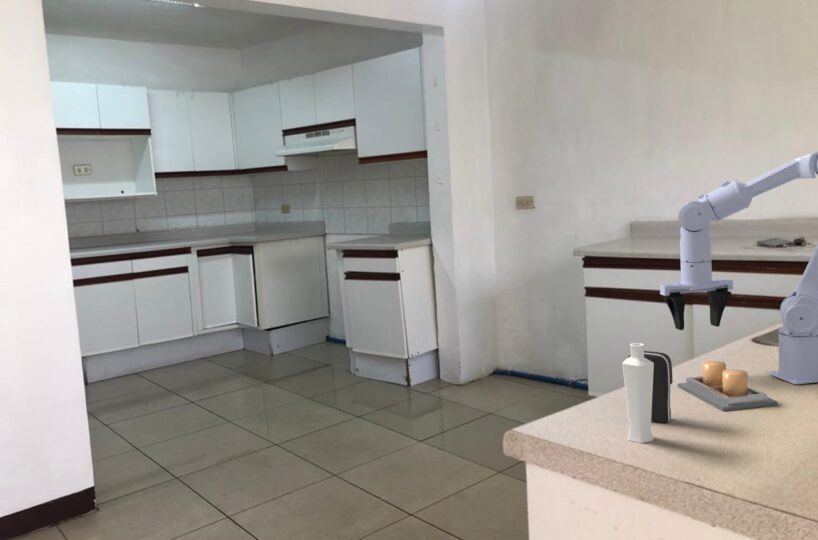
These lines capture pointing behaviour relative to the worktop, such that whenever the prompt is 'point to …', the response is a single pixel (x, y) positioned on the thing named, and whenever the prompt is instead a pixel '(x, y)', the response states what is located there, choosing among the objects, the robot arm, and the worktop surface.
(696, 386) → the frame
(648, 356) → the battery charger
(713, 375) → the peach rounded capsule
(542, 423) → the worktop surface
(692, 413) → the worktop surface
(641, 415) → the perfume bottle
